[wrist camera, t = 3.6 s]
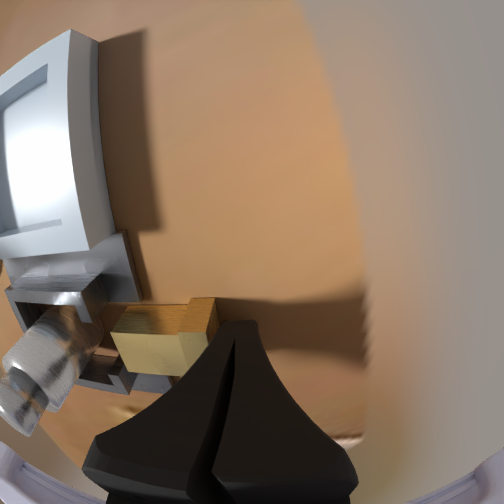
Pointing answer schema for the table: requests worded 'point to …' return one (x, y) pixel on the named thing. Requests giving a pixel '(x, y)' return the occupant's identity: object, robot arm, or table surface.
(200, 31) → the table surface
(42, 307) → the socket
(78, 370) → the stepped metal cylinder
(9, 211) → the tray
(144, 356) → the tan stepped block
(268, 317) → the table surface
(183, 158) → the table surface
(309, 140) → the table surface
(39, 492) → the robot arm
